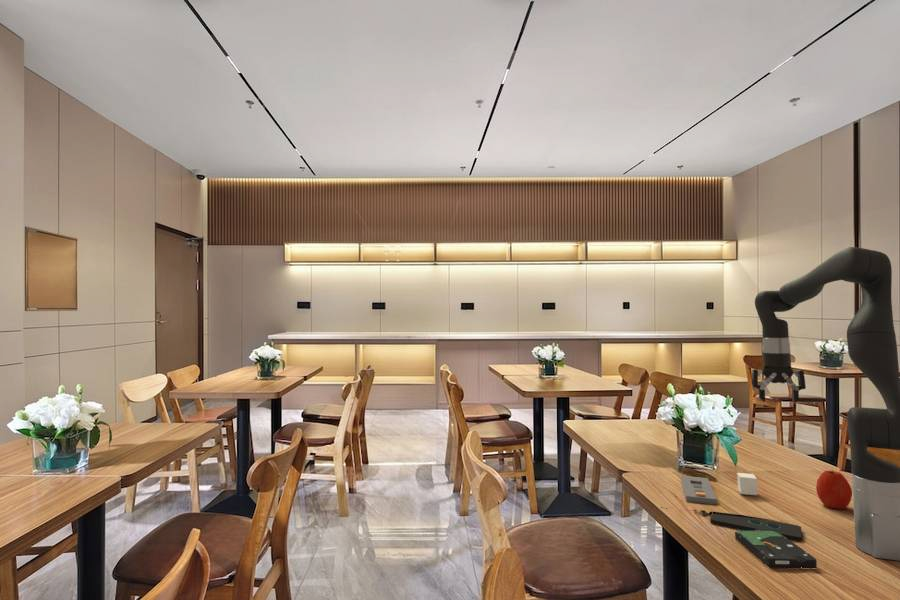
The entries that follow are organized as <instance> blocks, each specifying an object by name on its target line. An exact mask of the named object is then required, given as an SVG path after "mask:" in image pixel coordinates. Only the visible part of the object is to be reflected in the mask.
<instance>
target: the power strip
mask: <svg viewBox="0 0 900 600" xmlns="http://www.w3.org/2000/svg"><path fill="white" fill-rule="evenodd" d="M680 481H681V485H682V489H683V494H684V498H685V501H686V502H690V503H697V504H698V503H699V504H708V505H717V506H718V499H717V497H716V495H715V492H714V490H713V487H712V485H711V483H710V480H709V478H708V477H699V476H688V475H680ZM700 511H701V514H702V516H703V517H707V513H706V510H700Z"/></svg>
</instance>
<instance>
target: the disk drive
mask: <svg viewBox="0 0 900 600" xmlns="http://www.w3.org/2000/svg"><path fill="white" fill-rule="evenodd" d="M734 537H735V540H737V542H738V543H740V544H741V545H742V546H745V547H744V548H746V549H747V550H748V551H749V552H750V553H751V554H753V555H754V556H755V557H756V558H757V559H758V560H759V559H760V560H761V561H760V560H759V561H760V562H761V563H762V562H763V564H764V565H765V564H766V565H767V566H768V567H769V569H786V568H801V567H802V568H817V569H818V565H817V564H818V563H817V559H816V558H815V557H814V555H813V556H812V555H811V554H810V553H808V552H807V551H806V550H804V549H803V548H802V547H800V546H799V545H797V544H796V543H795V542H794V541H793V540H789V539H788V538H786V537H785V536H784V535H782V534H781V533H779V532H778V531H776V530H755V531H744V530H740V529H736V531H735V532H734ZM766 565H765V566H766ZM767 566H766V567H767ZM768 567H767V568H768Z"/></svg>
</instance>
